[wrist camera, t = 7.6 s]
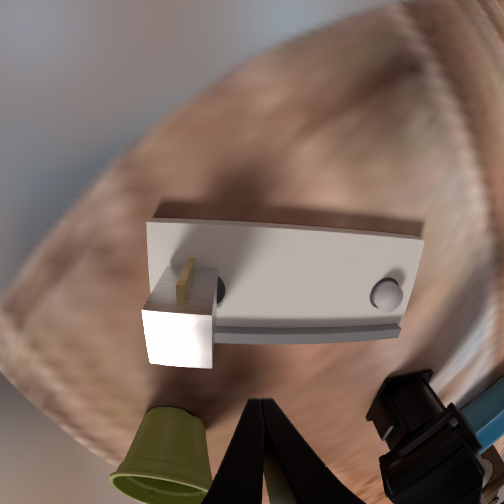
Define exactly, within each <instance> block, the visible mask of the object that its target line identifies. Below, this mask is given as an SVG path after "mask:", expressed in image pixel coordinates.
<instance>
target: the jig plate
mask: <svg viewBox="0 0 504 504" xmlns="http://www.w3.org/2000/svg"><path fill="white" fill-rule="evenodd" d="M424 242H425V240H423V239H421V238H419V237H417V236H415V235H406V234H396V233H386V232H376V231H365V230H354V229H343V228H331V227H318V226H305V225H291V224H276V223H260V222H243V221H224V220H203V219H178V218H151V219H150V220H149V221H147V248H148V266H149V280H150V292H151V293H152V291H153V289H154V287H155V286H156V284H157V282H158V280H159V279H160V277H161V275H162V273H163V272H164V270H165V268H166V267H167V266H171V267H184V265H185V263H186V260H187V258H188V257H194V258H195V268H207V269H218V286H217V318H216V329H215V340H214V343H229V344H321V343H341V342H356V341H369V340H380V339H390V338H398V336H399V333H400V331H401V328H400V325H401V323H402V320H403V317H404V314H405V311H406V308H407V305H408V302H409V299H410V295H411V292H412V289H413V285H414V282H415V278H416V275H417V271H418V267H419V263H420V259H421V255H422V251H423V247H424Z"/></svg>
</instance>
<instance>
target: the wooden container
mask: <svg viewBox="0 0 504 504" xmlns="http://www.w3.org/2000/svg"><path fill="white" fill-rule="evenodd" d="M480 456H481V457H482V459H483V461H484V463H485V468H484V478H483V487H482V495H483V497H484V498H485V500H486V502H487V503H488V504H496V503H497V501H498V500H499V497H496V496H497V493H498V491H499V489H500V488H501V487H502V486H503V485H504V463H503V461H502V459H501V457H500V455H499V454H498V452H497V450H496V449H495V447H494V445H491V446H490V447H489V448H488V449H486V450H485V451H484V452H483V453H481V454H480Z"/></svg>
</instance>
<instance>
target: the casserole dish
mask: <svg viewBox="0 0 504 504" xmlns="http://www.w3.org/2000/svg"><path fill="white" fill-rule="evenodd" d="M460 411H461V412H462V413H463V415H464V416H465V417H466V419H467V420H468V421H469V423H470V424H471V426H472V428H473V429H474V431H475V433H476V434H477V436H478V438H479V440H480V442H481V443H482V445H483V447H484V448H483V449H482V450H481V451H480V452H479V454H481V453H483V452H484V451H485V450H486V449H488V448H489V447H490V446H491V445H493V444H494V443H495V442H496V441H497V440H498V439H500V438H501V437H502V436H503V435H504V376H502V377H501V378H500V379H499V380H498V381H497V382H496V383H494V384H493V385H492V386H491V387H490V388H488V389H487V390H486V391H485V392H484V393H482V394H481V395H480V396H478V397H477V398H476V399H475V400H473V401H472V402H471V403H469V404H468V405H467V406H465V407H464V408H463V409H461V410H460ZM457 424H458V422H456V423H455V424H454V425H453V427H455V426H456V425H457Z"/></svg>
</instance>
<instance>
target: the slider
mask: <svg viewBox="0 0 504 504" xmlns="http://www.w3.org/2000/svg"><path fill="white" fill-rule="evenodd" d="M217 286H218V269H207V268H195V258H194V257H188V258H187V260H186V263H185V265H184V267H171V266H167V267H166V268H165V270H164V272H163V273H162V275H161V277H160V279H159V280H158V282H157V284H156V286H155V287H154V289H153V291H152V293H151V295H150V296H149V298H148V300H147V302H146V304H145V305H144V307H143V309H142V315H143V322H144V329H145V336H146V342H147V348H148V354H149V359H150V363H154V364H163V365H172V366H183V367H195V368H210V369H212V364H213V352H214V340H215V329H216V318H217Z"/></svg>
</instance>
